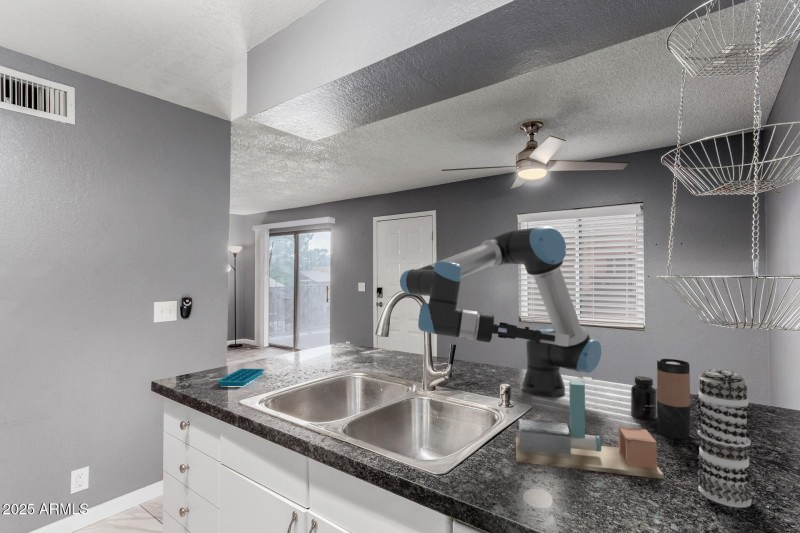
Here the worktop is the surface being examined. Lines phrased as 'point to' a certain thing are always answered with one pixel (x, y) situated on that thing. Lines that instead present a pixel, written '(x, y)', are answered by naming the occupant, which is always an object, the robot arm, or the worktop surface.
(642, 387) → the supplement bottle
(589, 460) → the base board
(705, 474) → the decorative candle
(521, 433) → the sleeve
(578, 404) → the slip tube
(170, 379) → the worktop surface
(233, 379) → the ice cube tray
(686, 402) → the travel mug
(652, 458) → the socket
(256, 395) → the worktop surface
